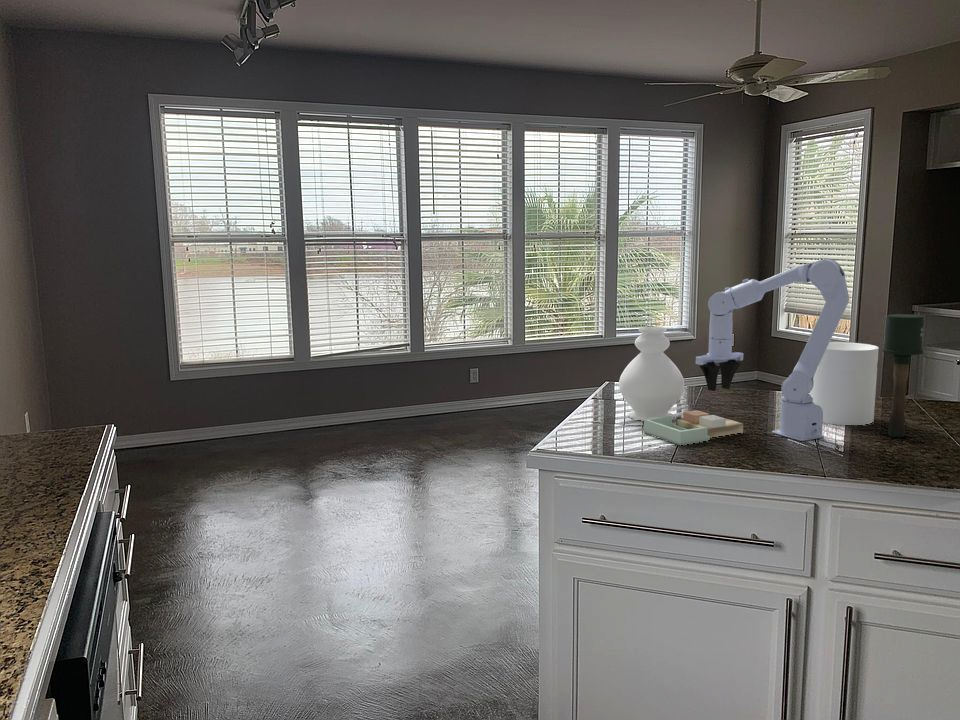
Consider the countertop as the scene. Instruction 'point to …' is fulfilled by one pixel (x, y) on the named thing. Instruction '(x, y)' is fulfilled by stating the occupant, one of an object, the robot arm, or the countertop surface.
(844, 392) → the canister
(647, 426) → the tray
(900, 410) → the stick grenade
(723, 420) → the cream tile
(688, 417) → the terracotta tile
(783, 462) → the countertop surface
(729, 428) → the board
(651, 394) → the decorative vase
